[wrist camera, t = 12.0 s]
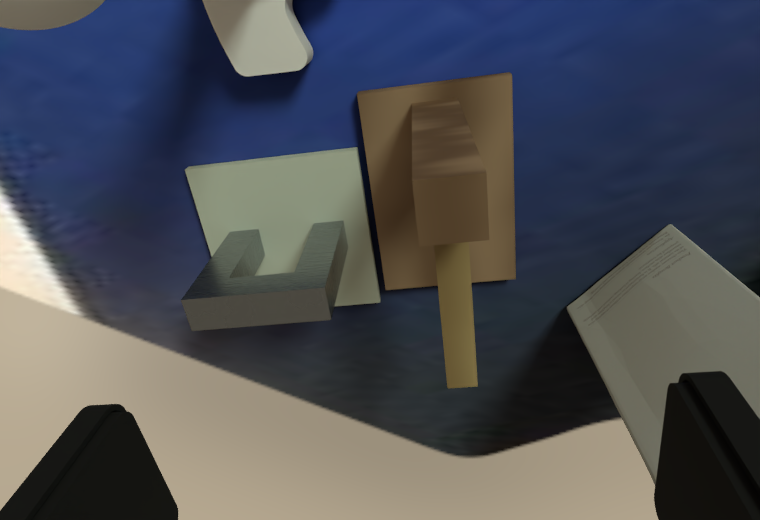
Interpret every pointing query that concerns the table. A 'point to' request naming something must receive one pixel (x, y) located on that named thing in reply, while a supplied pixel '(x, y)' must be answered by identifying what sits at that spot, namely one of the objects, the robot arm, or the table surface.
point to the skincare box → (667, 331)
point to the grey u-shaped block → (267, 282)
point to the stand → (444, 195)
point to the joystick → (228, 17)
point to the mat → (291, 211)
